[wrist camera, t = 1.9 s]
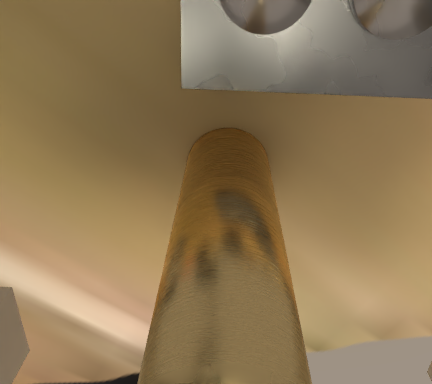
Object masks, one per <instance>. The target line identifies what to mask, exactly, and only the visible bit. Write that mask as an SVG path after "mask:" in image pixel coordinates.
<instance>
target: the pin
mask: <svg viewBox="0 0 432 384" xmlns="http://www.w3.org/2000/svg"><path fill="white" fill-rule="evenodd" d="M138 384H312V382H311V377H310V372H309V367H308V361H307V356H306V351H305V346H304V341H303V336H302V331H301V325H300V320H299V315H298V310H297V305H296V300H295V295H294V290H293V285H292V280H291V275H290V269H289V264H288V259H287V254H286V249H285V244H284V239H283V234H282V229H281V224H280V219H279V213H278V208H277V203H276V198H275V193H274V188H273V183H272V178H271V173H270V168H269V163H268V158H267V154H266V152H265V149H264V148H263V146H262V144H261V143H260V142H259V141H258V140H257V139H256V138H255V137H254V136H252V135H251V134H249V133H247V132H245V131H242V130H239V129H234V128H222V129H217V130H213V131H211V132H208V133H207V134H205V135H203V136H202V137H201V138H199V139H198V140H197V141H196V142H195V144H194V145H193V147H192V148H191V150H190V153H189V155H188V160H187V164H186V169H185V173H184V178H183V182H182V187H181V191H180V196H179V200H178V205H177V209H176V214H175V218H174V223H173V227H172V231H171V236H170V240H169V245H168V249H167V254H166V258H165V263H164V267H163V272H162V276H161V281H160V285H159V290H158V294H157V299H156V303H155V308H154V312H153V317H152V321H151V326H150V330H149V334H148V339H147V343H146V348H145V352H144V357H143V361H142V366H141V370H140V375H139V379H138Z"/></svg>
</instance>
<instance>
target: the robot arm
mask: <svg viewBox="0 0 432 384" xmlns="http://www.w3.org/2000/svg"><path fill="white" fill-rule="evenodd" d="M29 351H30V350H29V346H28V343H27V339H26V336H25V332H24V328H23V325H22V321H21V318H20V314H19V310H18V307H17V303H16V300H15V296H14V293H13V289H12V287H0V384H12V382H13V380H14V378H15V377H16V375H17V373H18V371H19V369H20V367H21V366H22V364H23V362H24V360H25V358H26V356H27V354H28V353H29ZM427 373H428V375H429V377H430V379H431V381H432V362H431V364H430V366H429V369H428V371H427Z"/></svg>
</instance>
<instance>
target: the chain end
mask: <svg viewBox="0 0 432 384" xmlns="http://www.w3.org/2000/svg"><path fill="white" fill-rule="evenodd" d="M181 83H182V88H186V89H210V90H234V91H258V92H282V93H306V94H330V95H354V96H378V97H402V98H426V99H432V0H181Z"/></svg>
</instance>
